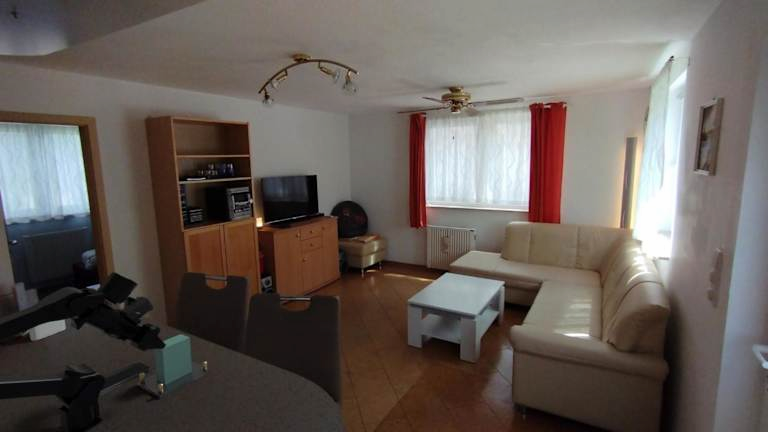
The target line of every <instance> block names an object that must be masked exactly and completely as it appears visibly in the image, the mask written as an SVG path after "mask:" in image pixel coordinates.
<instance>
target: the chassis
mask: <svg viewBox="0 0 768 432" xmlns="http://www.w3.org/2000/svg"><path fill="white" fill-rule="evenodd" d="M191 364H192V372H190V373H188V374H186V375H184V376H182V377H180V378H178V379H176V380H174V381H172V382H170V383H168V384H166V385H165V384H163V383H161V382H159V381H157V375H156V373H154V374H153V375H150V376H148V377H145V376H146V374H145V373H141V374H140V377H139V381H137V386H138V387H140V388H141V389H142V390H145V391H146V392H148V393H150V394H152V395H153V396H155V397H156V398H157V399H162V398H164V397H166V396H168V395H170V394H172V393H174V392H176V391H178V390H180V389H181V388H183V387H186V386H187V385H189V384H190V383H194V382H195V381H197V380H198V379H200V378H202V377H204V376H206V375H207V374H209V373H210V372H211V369H210V368H208V361H207V360H204V361H203V362H202V364H199V363H198V362H195V361H193V360H191Z"/></svg>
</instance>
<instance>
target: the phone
mask: <svg viewBox="0 0 768 432" xmlns="http://www.w3.org/2000/svg"><path fill="white" fill-rule="evenodd" d="M151 371H152V370H151V367H150V366H149V365H147V364H144V363H142V362H140V361H139V362H138V361H137V362H134V363H132V364H128V365H127V366H125V367H123V368H121V369H118V370H116V371H114V372H112V373H109V374H107V375H105V376H104V375H103V377H104V378H105V384H104V386H103V388H102V390H101V391H100V394H99V397H100V396H102V395H104V394H106V393H108V392H110V391H113V390H114V389H117V388H118V387H121V386H123V385H125V384H128V383H129V382H131V381H133V380H136V379H138V378H140V374H141V373H145V375H146V374H148V373H150V372H151Z"/></svg>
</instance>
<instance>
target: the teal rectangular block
mask: <svg viewBox="0 0 768 432" xmlns="http://www.w3.org/2000/svg"><path fill="white" fill-rule="evenodd" d="M190 338H191V337H190V336H187V335H185V334H178V335H175V336H173V337H171V338H168V339H166V340H162V341H163V342H164V343H165V344H166V346H165V348H164V349H153V350H154V360H155V362H154V363H155V374H156V375H157V381H159V382H161V383H163V384H165V385H166V384H168V383H170V382H172V381H174V380H176V379H178V378H180V377H182V376H184V375H186V374H188V373H190V372H192V364H191V361H192V354H191V353H192V352H191V339H190Z"/></svg>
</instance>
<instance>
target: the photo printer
mask: <svg viewBox="0 0 768 432" xmlns="http://www.w3.org/2000/svg"><path fill="white" fill-rule="evenodd" d="M64 330H66V319H65V320H60V321H53V322H48V323H44V324H41V325H39V326H36V327H34V328H31V329H29V330H28V333H29V338H30V341H33V342H35V341H38V340H41V339H44V338H47V337H50V336H52V335H55V334H58V333H60V332H62V331H64Z"/></svg>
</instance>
